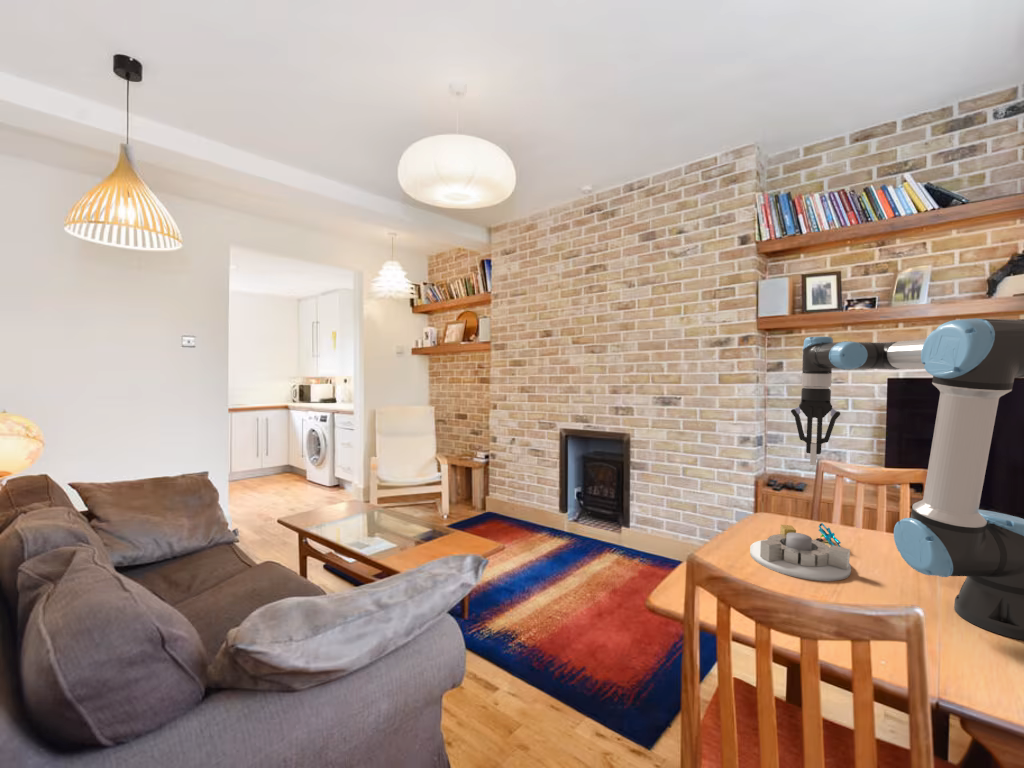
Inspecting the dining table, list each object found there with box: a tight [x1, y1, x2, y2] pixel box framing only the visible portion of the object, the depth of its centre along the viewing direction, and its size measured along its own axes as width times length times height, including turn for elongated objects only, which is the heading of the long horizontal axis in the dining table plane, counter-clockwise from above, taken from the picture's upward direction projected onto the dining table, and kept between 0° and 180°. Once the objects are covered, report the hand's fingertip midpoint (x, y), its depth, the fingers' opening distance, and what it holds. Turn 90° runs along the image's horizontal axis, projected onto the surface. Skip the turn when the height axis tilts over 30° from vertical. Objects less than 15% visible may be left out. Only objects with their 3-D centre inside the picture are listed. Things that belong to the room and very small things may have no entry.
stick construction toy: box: [815, 522, 842, 547], centre depth 144 cm, size 12×7×8 cm
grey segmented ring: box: [760, 524, 851, 569], centre depth 133 cm, size 21×19×4 cm
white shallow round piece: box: [749, 532, 852, 582], centre depth 131 cm, size 24×24×7 cm
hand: (813, 464), depth 144 cm, fingers closed
